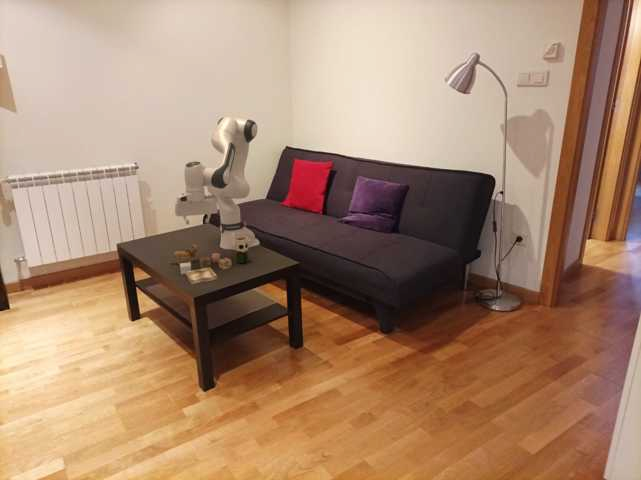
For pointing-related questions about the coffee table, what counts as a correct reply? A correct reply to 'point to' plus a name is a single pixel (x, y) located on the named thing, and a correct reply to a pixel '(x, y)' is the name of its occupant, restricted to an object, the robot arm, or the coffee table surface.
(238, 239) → the character mug
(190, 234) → the coffee table surface
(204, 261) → the walnut block
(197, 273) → the birch tray
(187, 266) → the white plastic block
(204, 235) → the coffee table surface
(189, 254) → the lion figurine
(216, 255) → the pinkish tan rounded lump
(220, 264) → the oak block
